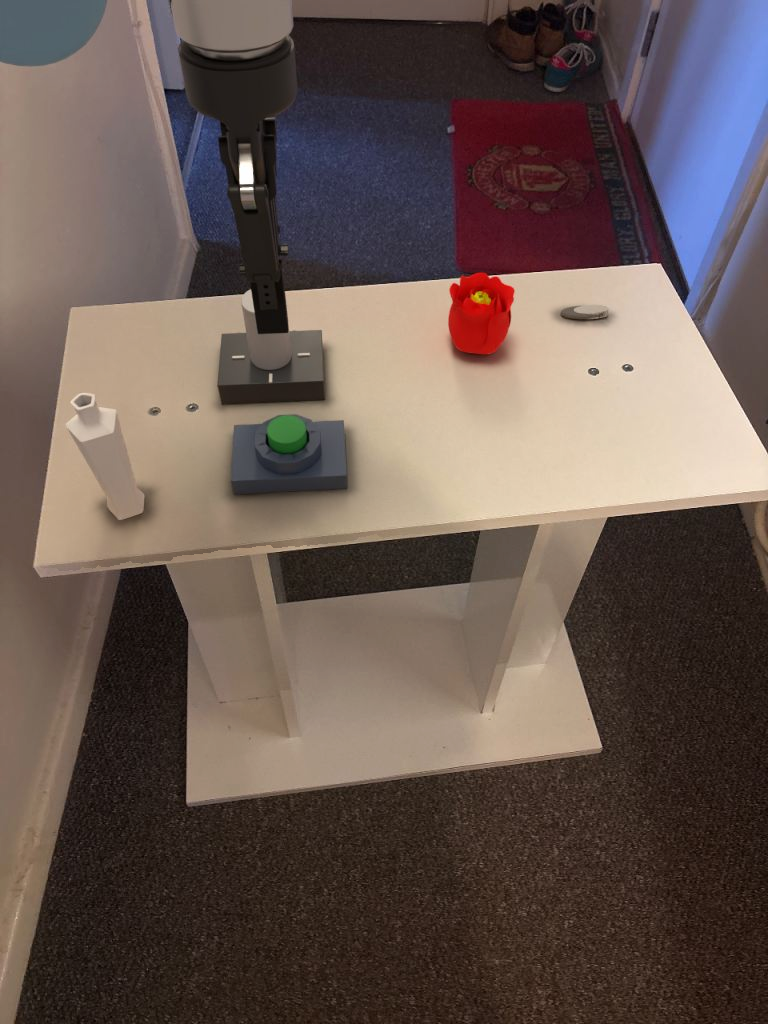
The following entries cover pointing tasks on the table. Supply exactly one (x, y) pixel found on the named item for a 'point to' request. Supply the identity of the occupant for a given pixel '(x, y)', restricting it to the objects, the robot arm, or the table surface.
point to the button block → (289, 459)
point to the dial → (264, 340)
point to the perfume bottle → (106, 454)
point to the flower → (480, 313)
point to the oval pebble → (585, 312)
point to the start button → (287, 434)
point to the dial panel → (271, 371)
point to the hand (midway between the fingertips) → (273, 328)
